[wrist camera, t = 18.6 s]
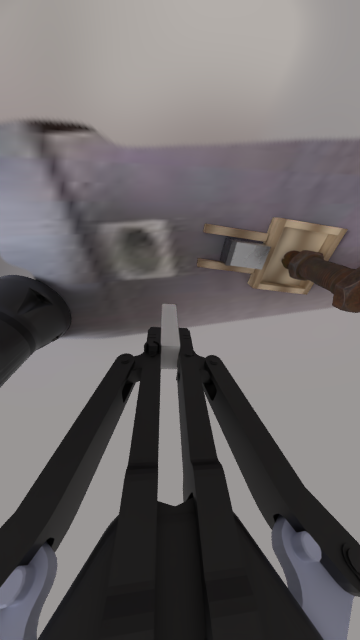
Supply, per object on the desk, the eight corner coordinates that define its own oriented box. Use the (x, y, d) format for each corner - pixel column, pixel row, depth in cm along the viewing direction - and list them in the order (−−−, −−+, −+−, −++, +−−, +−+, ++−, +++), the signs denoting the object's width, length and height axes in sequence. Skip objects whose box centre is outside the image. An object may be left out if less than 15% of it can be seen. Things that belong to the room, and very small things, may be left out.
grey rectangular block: (219, 259, 30) (225, 265, 27) (225, 237, 28) (232, 240, 25) (253, 264, 31) (261, 270, 28) (261, 242, 29) (271, 246, 26)
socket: (194, 276, 32) (196, 281, 30) (208, 206, 26) (211, 206, 24) (298, 289, 34) (306, 294, 32) (334, 227, 28) (347, 229, 26)
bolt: (296, 235, 28) (394, 256, 16) (310, 254, 30) (408, 286, 17) (267, 263, 30) (333, 299, 18) (282, 278, 32) (351, 321, 20)
